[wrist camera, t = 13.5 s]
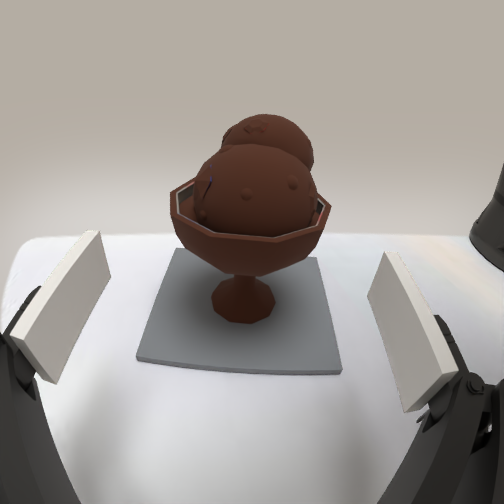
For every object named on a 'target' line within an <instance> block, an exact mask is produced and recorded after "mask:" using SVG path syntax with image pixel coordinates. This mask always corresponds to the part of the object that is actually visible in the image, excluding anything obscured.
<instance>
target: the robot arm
mask: <svg viewBox="0 0 504 504" xmlns="http://www.w3.org/2000/svg"><path fill="white" fill-rule="evenodd" d="M470 239H471V241H472V243H473V244H474V246H475V247H476V248H477V249H478V250H479V251H480V252H481V253H482V254H483V255H484V256H485V257H486V258H487V259H488V260H489V261H490V262H492V263H493V264H494V265H496V266H497V267H499V268H500V269H502V270H503V271H504V164H503V168H502V171H501V174H500V177H499V181H498V183H497V187H496V190H495V193H494V196H493V198H492V200H491V202H490V203H489V205H488V206H487V207H486V208H485V210H484V211H483V212H482V214H481V215H480V217H479V218H478V219H477V220H476V221H475V222H474V224H473V227H472V229H471V231H470ZM110 278H111V274H110V271H109V267H108V263H107V260H106V256H105V252H104V248H103V243H102V239H101V235H100V231H91V230H86V232H85V233H84V234H83V235H82V236H81V237H80V238H79V240H78V241H77V242H76V243H75V244H74V246H73V247H72V248H71V249H70V250H69V252H68V253H67V254H66V255H65V257H64V258H63V259H62V260H61V262H60V263H59V264H58V265H57V267H56V268H55V269H54V271H53V272H52V273H51V274H50V276H49V277H48V278H47V280H46V281H45V282H44V284H43V285H42V286H38V287H37V288H36V289H34V290H33V291H32V292H31V293H30V294H29V295H28V297H27V298H26V300H25V301H24V303H23V304H22V305H21V307H20V308H19V310H18V311H17V313H16V314H15V316H14V317H13V319H12V320H11V322H10V323H9V325H8V327H7V328H6V330H5V331H4V333H3V334H1V333H0V504H81V503H80V501H79V499H78V497H77V495H76V493H75V491H74V489H73V487H72V485H71V482H70V480H69V478H68V476H67V474H66V471H65V469H64V467H63V464H62V462H61V459H60V457H59V454H58V452H57V449H56V446H55V444H54V441H53V438H52V435H51V432H50V429H49V426H48V423H47V420H46V416H45V413H44V409H43V406H42V402H41V398H40V394H39V390H38V386H37V382H36V380H35V378H34V375H35V373H36V372H37V373H38V374H39V376H40V377H41V378H42V379H43V380H45V381H48V382H50V383H53V384H56V385H57V383H58V380H59V378H60V376H61V374H62V371H63V369H64V367H65V365H66V362H67V360H68V358H69V356H70V354H71V352H72V350H73V348H74V346H75V343H76V341H77V339H78V337H79V335H80V333H81V331H82V329H83V327H84V325H85V324H86V322H87V320H88V318H89V316H90V314H91V312H92V310H93V308H94V307H95V305H96V303H97V301H98V299H99V297H100V296H101V294H102V292H103V290H104V289H105V287H106V285H107V283H108V282H109V280H110ZM367 297H368V300H369V303H370V305H371V308H372V311H373V314H374V316H375V319H376V322H377V325H378V328H379V331H380V334H381V337H382V340H383V343H384V346H385V349H386V352H387V355H388V358H389V361H390V365H391V368H392V371H393V375H394V378H395V382H396V385H397V389H398V392H399V396H400V400H401V403H402V407H403V411H404V413H407V412H412V411H417V410H420V409H421V408H422V407H423V406H425V405H426V404H427V403H428V405H429V408H430V409H429V410H428V411H426V412H425V413H424V414H423V415H422V416H421V417H420V418H418V420H417V421H416V422H417V423H419V422H420V421H421V420H422V419H423V421H422V423H421V425H420V427H419V430H418V432H417V434H416V436H415V438H414V440H413V442H412V444H411V446H410V448H409V450H408V452H407V454H406V456H405V458H404V460H403V462H402V463H401V465H400V467H399V469H398V471H397V472H396V474H395V476H394V478H393V479H392V481H391V483H390V484H389V486H388V487H387V489H386V491H385V492H384V494H383V495H382V497H381V498H380V500H379V501H378V503H377V504H504V379H503V380H501V381H500V382H499V383H498V384H497V385H489V384H485V383H484V381H483V380H482V378H481V377H480V376H478V375H477V374H475V373H472V372H470V373H469V371H468V369H467V366H466V364H465V362H464V359H463V357H462V355H461V353H460V351H459V348H458V346H457V344H456V343H455V340H454V338H453V336H452V335H451V332H450V330H449V328H448V326H447V324H446V323H445V322H444V321H443V319H442V318H441V317H440V316H439V315H433V314H432V312H431V310H430V308H429V306H428V304H427V302H426V300H425V298H424V297H423V295H422V293H421V291H420V289H419V287H418V286H417V284H416V282H415V280H414V279H413V277H412V275H411V273H410V272H409V270H408V268H407V267H406V265H405V263H404V261H403V260H402V258H401V257H400V255H399V253H398V252H386V251H384V254H383V256H382V259H381V262H380V264H379V267H378V270H377V272H376V275H375V277H374V280H373V282H372V285H371V287H370V290H369V292H368V295H367ZM491 424H492V431H490V432H488V427H489V426H490V425H491Z"/></svg>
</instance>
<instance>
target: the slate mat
mask: <svg viewBox="0 0 504 504" xmlns="http://www.w3.org/2000/svg"><path fill="white" fill-rule="evenodd" d="M232 277H234V274H225V273H223V272H222V271H220V270H219V269H217V268H215V267H214V266H212V265H211V264H209V263H207V262H206V261H204V260H202V259H201V258H199V257H198V256H196V255H195V254H193V253H192V252H190V251H188V250H187V249H185V248H176V249H175V252H174V254H173V256H172V259H171V261H170V264H169V266H168V269H167V271H166V274H165V276H164V279H163V281H162V284H161V287H160V289H159V292H158V294H157V297H156V300H155V302H154V305H153V308H152V311H151V313H150V316H149V319H148V322H147V324H146V327H145V330H144V333H143V336H142V339H141V342H140V345H139V348H138V351H137V354H136V358H137V360H138V361H144V362H150V363H156V364H163V365H170V366H177V367H185V368H194V369H203V370H213V371H225V372H239V373H256V374H291V375H312V374H340V373H341V371H342V365H341V360H340V355H339V350H338V346H337V341H336V336H335V332H334V327H333V323H332V318H331V314H330V310H329V306H328V301H327V297H326V293H325V289H324V285H323V281H322V277H321V273H320V269H319V265H318V262H317V258H316V257H306V258H305V259H304V260H302V261H300V262H298V263H295V264H293V265H291V266H289V267H286V268H283V269H281V270H278V271H275V272H272V273H270V274H267V275H264V276H261V277H256V279H258V280H260V281H262V282H263V283H265V284H267V285H269V287H270V289H271V291H272V294H273V296H274V298H275V302H276V303H275V306H274V308H273V310H272V312H271V314H270V316H269V317H267V318H265V319H262V320H260V321H258V322H255V323H253V324H243V323H233V322H229V321H227V320H226V319H224V318H223V317H222V316H220V315H219V314H217V313H216V312H215V311H214V309H213V304H212V300H211V295H212V293H213V291H214V290H215V289H216V287H217V286H218V285H219V283H220V282H221V281H223V280H226V279H229V278H232Z"/></svg>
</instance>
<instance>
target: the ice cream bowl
mask: <svg viewBox="0 0 504 504" xmlns="http://www.w3.org/2000/svg"><path fill="white" fill-rule="evenodd" d="M313 163H314V157H313V148H312V146H311V142H310V140H309V139H308V137H307V136H306V135H305V133H304V132H303V131H302V130H301V129H300V128H299V127H298V126H297V125H296V124H294V123H293V122H291V121H290V120H288V119H286V118H284V117H281V116H277V115H268V114H259V115H255V116H252V117H249V118H246V119H244V120H242V121H240V122H239V123H238V124H236V125H234V126H232V127H231V128H230V129H228V131H227V132H226V133H225V135H224V136H223V140H222V146H221V149H220V150H219V151H218V152H217V153H216V154H215V155H213V156H212V157H211V158H210V159H208V160H207V161H206V162H205V163H204V164H203V166H202V167H201V169H200V171H199V172H198V174H197V176H196V177H195V178H193V179H192V180H190V181H188V182H186V183H185V184H183V185H181V186H180V187H178V188H176V189H175V190H173V191H172V192H170V215H171V219H172V222H173V225H174V229H175V232H176V235H177V236H178V238H179V239H180V241H181V243H182V244H183V246H184V247H185V249H187V250H188V251H190V252H192V253H193V254H195V255H196V256H198V257H199V258H201V259H202V260H204V261H206V262H207V263H209V264H211V265H212V266H214V267H215V268H217V269H219V270H220V271H222V272H223V273H225V274H234V277H232V278H229V279H226V280H223V281H221V282H220V283H219V285H218V286H217V287H216V289H215V290H214V291H213V293H212V295H211V300H212V304H213V309H214V311H215V312H216V313H217V314H219V315H220V316H222V317H223V318H224V319H226V320H227V321H229V322H233V323H243V324H253V323H255V322H258V321H260V320H262V319H265V318H267V317H269V316H270V314H271V312H272V310H273V308H274V306H275V303H276V302H275V298H274V296H273V294H272V291H271V289H270V287H269V285H267V284H265V283H263V282H262V281H260V280H258V279H256V277H261V276H264V275H267V274H270V273H272V272H275V271H278V270H281V269H283V268H286V267H289V266H291V265H293V264H295V263H298V262H300V261H302V260H304V259H305V258H306V257H307V256H308V255H309V254H310V253H311V252H312V251H313V249H314V248H315V247H316V245H317V243H318V241H319V238H320V236H321V234H322V232H323V230H324V227H325V224H326V221H327V219H328V216H329V213H330V210H331V205H330V204H329V203H328V202H327V201H326V200H325V199H324V198H323V197H322V196H321V195H320V194H318V193H317V189H316V186H315V183H314V181H313V178H312V176H311V173H310V171H311V168H312V166H313Z"/></svg>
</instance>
